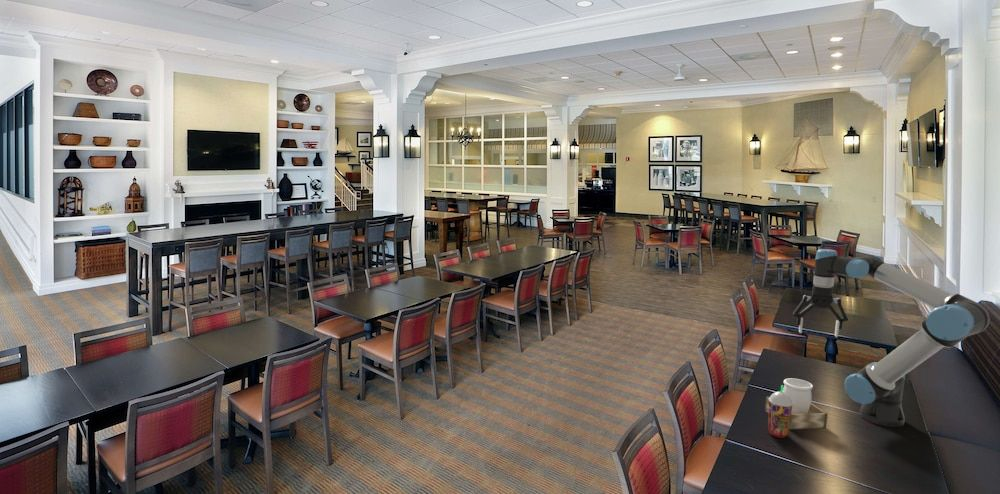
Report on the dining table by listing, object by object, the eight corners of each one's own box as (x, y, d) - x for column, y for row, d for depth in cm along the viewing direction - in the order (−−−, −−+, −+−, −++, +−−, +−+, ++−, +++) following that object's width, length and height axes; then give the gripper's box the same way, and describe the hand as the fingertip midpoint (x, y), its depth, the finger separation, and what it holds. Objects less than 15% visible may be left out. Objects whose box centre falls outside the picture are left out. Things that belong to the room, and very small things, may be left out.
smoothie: (780, 441, 204) (785, 391, 201) (760, 431, 212) (765, 383, 209) (794, 436, 208) (799, 387, 205) (774, 427, 216) (779, 379, 212)
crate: (799, 409, 232) (801, 395, 231) (826, 428, 215) (827, 413, 214) (764, 410, 230) (766, 396, 229) (788, 429, 214) (790, 414, 213)
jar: (815, 422, 219) (819, 387, 217) (793, 424, 217) (797, 389, 214) (795, 410, 229) (798, 376, 227) (774, 412, 227) (777, 378, 225)
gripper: (854, 286, 228) (849, 335, 231) (788, 281, 237) (784, 328, 240) (859, 290, 221) (854, 340, 225) (791, 285, 230) (786, 333, 233)
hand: (818, 334), depth 232 cm, fingers open, 13 cm apart
